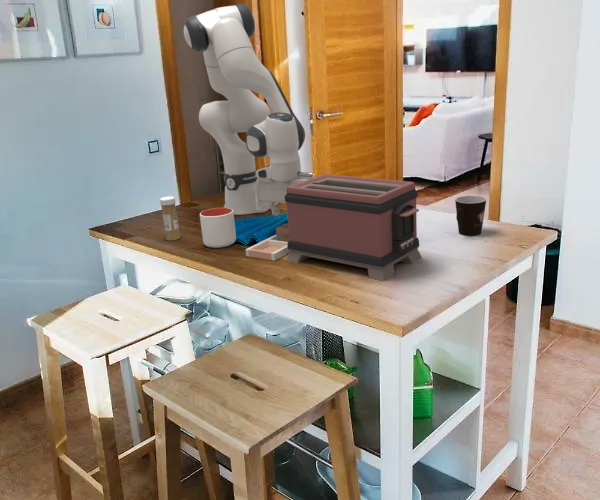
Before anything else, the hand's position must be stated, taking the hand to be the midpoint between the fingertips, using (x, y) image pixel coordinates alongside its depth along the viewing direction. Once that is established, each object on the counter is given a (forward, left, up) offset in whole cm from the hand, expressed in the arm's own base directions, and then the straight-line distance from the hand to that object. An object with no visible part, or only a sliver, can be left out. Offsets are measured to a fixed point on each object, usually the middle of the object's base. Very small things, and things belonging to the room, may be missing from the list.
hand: (289, 217), depth 176 cm
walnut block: (+1, 0, -8) cm, 8 cm away
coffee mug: (-26, +44, -8) cm, 52 cm away
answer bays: (+6, 0, -8) cm, 10 cm away
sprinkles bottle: (+11, -38, -8) cm, 41 cm away
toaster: (+6, +26, -8) cm, 27 cm away
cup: (+9, -20, -8) cm, 24 cm away
